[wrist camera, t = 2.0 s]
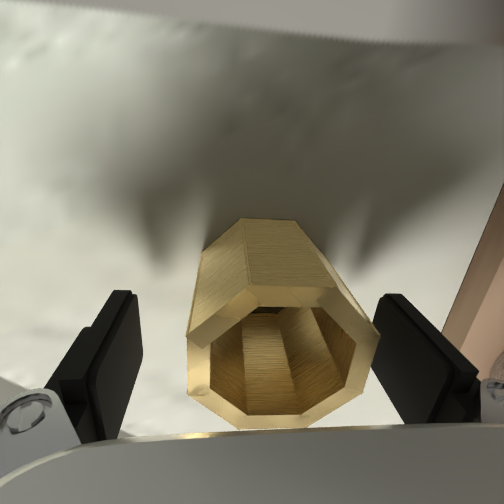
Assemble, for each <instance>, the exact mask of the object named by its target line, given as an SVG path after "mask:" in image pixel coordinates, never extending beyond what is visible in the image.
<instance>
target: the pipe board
mask: <svg viewBox="0 0 504 504" xmlns="http://www.w3.org/2000/svg"><path fill="white" fill-rule="evenodd" d="M442 334H443V335H444V336H445V337H446V338H447V339H448V340H449V341H450V342H451V343H452V344H453V345H454V346H455V347H456V348H457V349H458V350H459V351H460V352H461V353H462V354H463V355H464V356H465V357H466V358H467V359H468V360H469V361H470V362H471V363H472V364H473V365H474V366H475V367H476V368H477V369H478V370H479V373H478V375H477V378H478V379H479V380H480V381H482V380H484V379H485V378H489V373H490V369H491V367H492V365H493V363H494V362H495V360H496V359H497V358H498V356H499V355H500V354H501V353H502V352H503V351H504V185H503V188H502V190H501V193H500V195H499V197H498V200H497V202H496V205H495V207H494V209H493V212H492V214H491V216H490V219H489V221H488V224H487V226H486V228H485V231H484V233H483V236H482V238H481V240H480V243H479V245H478V247H477V250H476V252H475V255H474V257H473V259H472V262H471V264H470V266H469V269H468V271H467V274H466V276H465V278H464V281H463V283H462V286H461V288H460V290H459V293H458V295H457V297H456V300H455V302H454V305H453V307H452V309H451V312H450V314H449V316H448V319H447V321H446V324H445V326H444V328H443V331H442Z"/></svg>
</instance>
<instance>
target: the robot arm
mask: <svg viewBox="0 0 504 504" xmlns="http://www.w3.org/2000/svg"><path fill="white" fill-rule="evenodd" d="M372 324H373V325H374V327H375V328H376V329H377V331H378V332H379V334H380V337H381V338H380V339H379V342H378V345H377V348H376V351H375V354H374V358H373V361H372V364H371V368H372V370H373V371H374V373H375V375H376V376H377V378H378V380H379V381H380V383H381V385H382V387H383V388H384V390H385V392H386V393H387V395H388V397H389V398H390V400H391V402H392V403H393V405H394V407H395V408H396V410H397V412H398V413H399V415H400V417H401V419H402V420H403V422H404V424H399V425H370V426H344V427H319V428H295V429H272V430H250V431H229V432H208V433H188V434H172V435H157V436H141V437H129V438H121V439H117V436H118V433H119V430H120V427H121V424H122V421H123V418H124V415H125V412H126V409H127V406H128V403H129V400H130V396H131V393H132V390H133V387H134V384H135V381H136V378H137V375H138V372H139V369H140V366H141V363H142V358H143V347H142V337H141V327H140V317H139V307H138V298H137V295H136V294H132V292H131V290H114V291H113V292H112V293H111V295H110V297H109V298H108V300H107V301H106V303H105V305H104V306H103V308H102V309H101V311H100V313H99V314H98V316H97V318H96V319H95V321H94V322H93V324H92V326H91V327H85V328H83V329H82V331H81V332H80V333H79V335H78V336H77V338H76V340H75V341H74V343H73V344H72V346H71V347H70V349H69V350H68V352H67V353H66V355H65V356H64V358H63V359H62V361H61V362H60V364H59V366H58V367H57V369H56V370H55V372H54V373H53V375H52V376H51V378H50V379H49V381H48V382H47V384H46V385H45V387H44V389H42V388H38V389H33V390H28V391H25V392H23V393H20V394H18V395H16V396H14V397H12V398H10V399H9V400H7V401H6V402H5V403H3V404H2V405H1V406H0V504H504V381H503V380H500V379H495V378H485V379H484V380H482V381H480V380H479V379H478V378H477V375H478V373H479V370H478V369H477V368H476V367H475V366H474V365H473V364H472V363H471V362H470V361H469V360H468V359H467V358H466V357H465V356H464V355H463V354H462V353H461V352H460V351H459V350H458V349H457V348H456V347H455V346H454V345H453V344H452V343H451V342H450V341H449V340H448V339H447V338H446V337H445V336H444V335H443V334H442V333H441V332H440V331H439V330H438V329H437V328H436V327H434V326H433V325H432V324H431V323H430V322H429V321H428V320H427V319H426V318H425V317H424V316H423V315H422V314H421V313H420V312H419V311H418V310H417V309H416V308H415V307H414V306H413V305H412V304H411V303H410V302H409V301H408V300H407V299H406V298H405V297H404V296H403V295H402V294H385V295H384V296H383V297H381V298H380V299H379V302H378V305H377V308H376V312H375V315H374V319H373V322H372Z"/></svg>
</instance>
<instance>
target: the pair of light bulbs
mask: <svg viewBox="0 0 504 504" xmlns="http://www.w3.org/2000/svg"><path fill="white" fill-rule="evenodd" d="M489 378H495V379H500V380H503V381H504V351H503V352H502V353H501V354H500V355H499V356H498V358H497V359H496V360H495V362H494V363H493V365H492V367H491V369H490V373H489Z"/></svg>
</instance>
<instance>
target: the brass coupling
mask: <svg viewBox="0 0 504 504" xmlns="http://www.w3.org/2000/svg"><path fill="white" fill-rule="evenodd" d="M258 306H259V307H284V308H283V309H282V310H280V311H279V312H278V313H276V314H268V313H251V312H252V311H253V310H254V309H256V308H257V307H258ZM186 337H187V368H188V389H187V395H188V396H190V397H192V398H193V399H195V400H196V401H198V402H199V403H201V404H202V405H204V406H205V407H207V408H208V409H209V410H211V411H212V412H214V413H215V414H217V415H218V416H220V417H221V418H223V419H224V420H226V421H227V422H229V423H230V424H232V425H233V426H234V427H236V428H237V429H239V430H240V429H268V428H307V427H308V426H309V425H311V424H313V423H314V422H316V421H318V420H319V419H321V418H322V417H324V416H326V415H327V414H329V413H331V412H332V411H334V410H335V409H337V408H339V407H340V406H342V405H344V404H345V403H347V402H349V401H350V400H352V399H353V398H355V397H357V396H358V395H360V394H362V393H363V389H364V386H365V383H366V380H367V377H368V373H369V370H370V367H371V364H372V361H373V358H374V354H375V351H376V348H377V345H378V342H379V339H380V338H381V337H380V334H379V332H378V331H377V329H376V328H375V327H374V325H373V324H372V322H371V321H370V319H369V318H368V317H367V315H366V314H365V312H364V311H363V309H362V308H361V307H360V305H359V304H358V302H357V301H356V299H355V298H354V297H353V295H352V294H351V292H350V291H349V289H348V288H347V287H346V285H345V284H344V282H343V281H342V279H341V278H340V277H339V275H338V274H337V272H336V271H335V269H334V268H333V267H332V265H331V264H330V262H329V261H328V259H327V258H326V257H325V255H323V254H322V253H321V252H320V250H319V249H318V248H317V247H316V246H315V245H314V243H313V242H312V241H311V240H310V239H309V238H308V236H307V235H306V234H305V233H304V232H303V230H302V229H301V228H300V227H299V226H298V224H297V223H296V221H294V220H270V219H249V218H240V220H238V221H237V222H236V223H235V224H234V225H233V226H232V227H230V228H229V229H228V230H227V231H226V232H225V233H223V234H222V235H221V236H220V237H219V238H218V239H216V240H215V241H214V242H213V243H212V244H211V245H209V246H208V247H207V248H206V249H205V250H203V251H202V253H201V258H200V264H199V269H198V274H197V279H196V284H195V289H194V294H193V300H192V305H191V310H190V315H189V320H188V325H187V331H186Z"/></svg>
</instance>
